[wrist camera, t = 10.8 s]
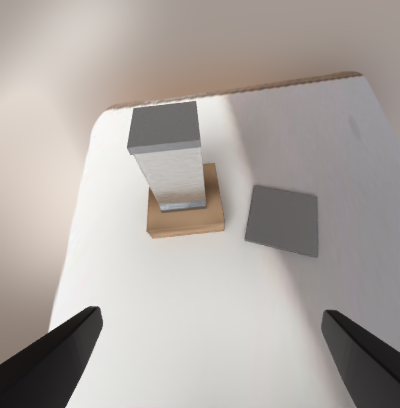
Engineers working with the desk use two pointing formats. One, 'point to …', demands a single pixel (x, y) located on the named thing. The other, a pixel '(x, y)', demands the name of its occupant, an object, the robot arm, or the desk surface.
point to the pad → (283, 221)
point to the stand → (189, 212)
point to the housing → (170, 154)
